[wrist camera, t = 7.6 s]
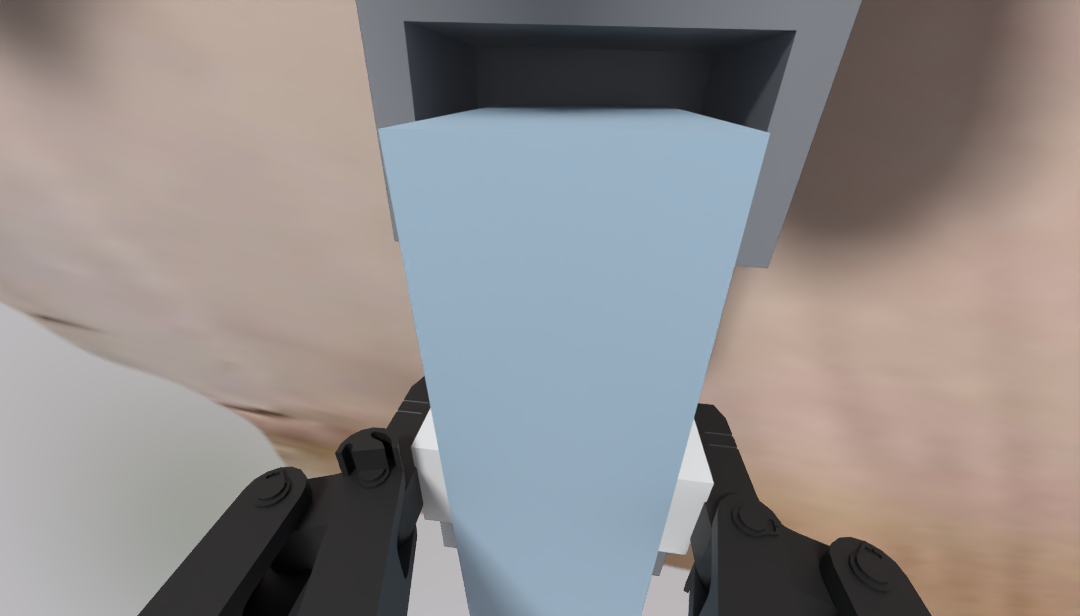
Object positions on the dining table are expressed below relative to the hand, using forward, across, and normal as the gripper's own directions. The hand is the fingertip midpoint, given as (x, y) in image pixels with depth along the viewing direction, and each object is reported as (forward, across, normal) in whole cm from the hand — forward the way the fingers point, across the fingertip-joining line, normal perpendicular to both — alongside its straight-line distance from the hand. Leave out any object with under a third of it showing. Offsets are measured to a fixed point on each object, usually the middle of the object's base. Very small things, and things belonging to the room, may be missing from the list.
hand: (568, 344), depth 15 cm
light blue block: (+1, 0, 0) cm, 1 cm away
